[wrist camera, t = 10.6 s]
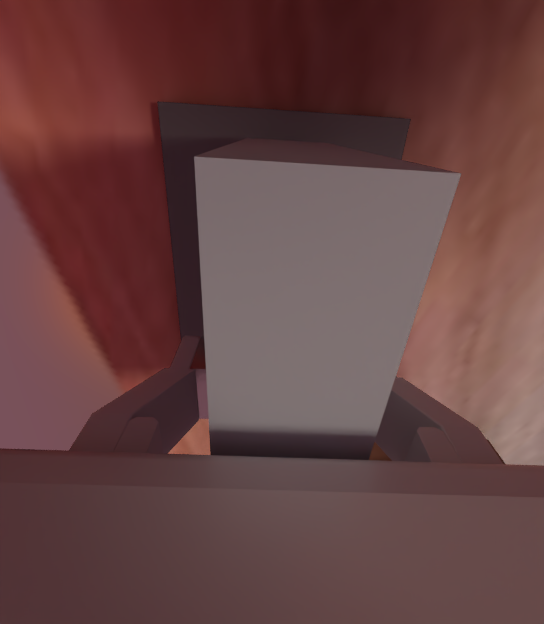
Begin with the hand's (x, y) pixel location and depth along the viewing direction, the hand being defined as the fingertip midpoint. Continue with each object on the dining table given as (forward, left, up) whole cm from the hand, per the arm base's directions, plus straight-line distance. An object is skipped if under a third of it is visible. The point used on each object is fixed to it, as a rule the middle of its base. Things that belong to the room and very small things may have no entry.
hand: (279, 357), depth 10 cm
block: (0, 0, -6) cm, 6 cm away
